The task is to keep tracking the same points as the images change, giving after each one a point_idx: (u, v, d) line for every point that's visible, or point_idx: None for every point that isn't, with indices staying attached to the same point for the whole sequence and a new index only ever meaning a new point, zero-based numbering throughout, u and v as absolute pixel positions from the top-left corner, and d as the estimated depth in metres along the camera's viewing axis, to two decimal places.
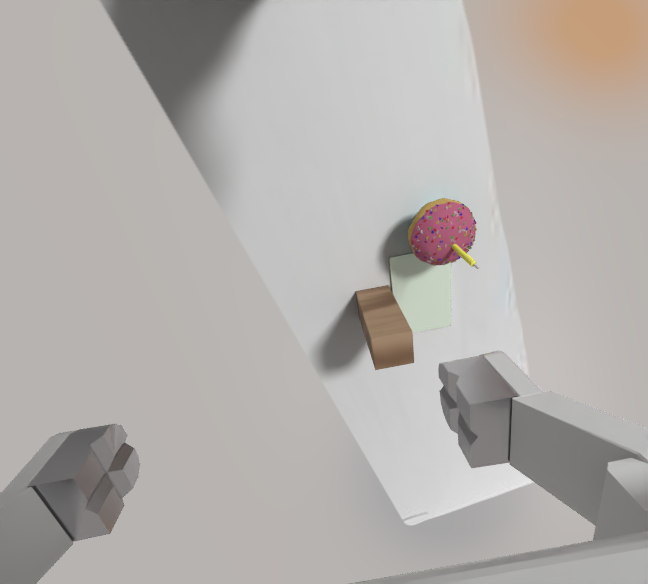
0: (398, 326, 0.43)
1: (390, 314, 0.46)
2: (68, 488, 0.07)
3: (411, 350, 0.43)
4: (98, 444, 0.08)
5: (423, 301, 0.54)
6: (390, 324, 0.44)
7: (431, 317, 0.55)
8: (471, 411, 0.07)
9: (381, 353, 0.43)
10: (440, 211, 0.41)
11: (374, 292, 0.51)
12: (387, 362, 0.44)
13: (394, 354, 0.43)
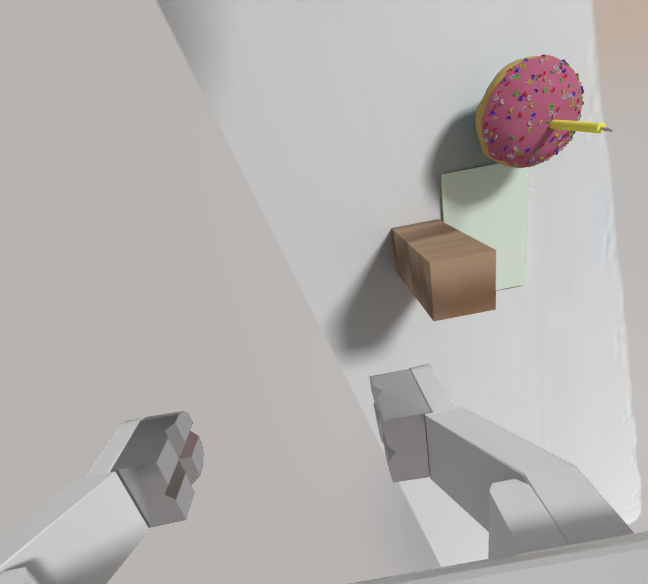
0: (469, 247, 0.27)
1: (452, 239, 0.30)
2: (150, 473, 0.07)
3: (492, 286, 0.27)
4: (171, 430, 0.08)
5: (486, 244, 0.38)
6: (456, 247, 0.28)
7: (497, 271, 0.39)
8: (385, 427, 0.07)
9: (445, 290, 0.27)
10: (532, 66, 0.27)
11: (419, 226, 0.36)
12: (453, 307, 0.27)
13: (465, 293, 0.27)
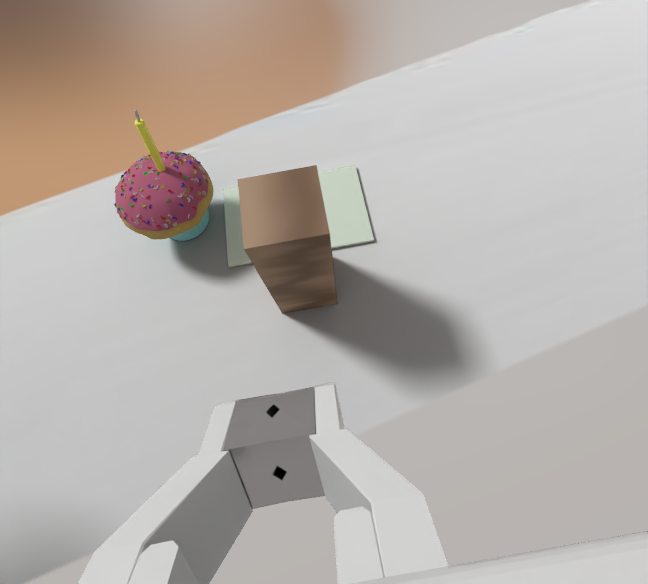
0: None
1: None
2: (261, 452, 0.07)
3: (284, 174, 0.22)
4: (270, 412, 0.08)
5: None
6: None
7: (338, 194, 0.35)
8: (272, 448, 0.07)
9: (284, 225, 0.20)
10: (117, 197, 0.30)
11: None
12: (310, 212, 0.20)
13: (290, 202, 0.21)
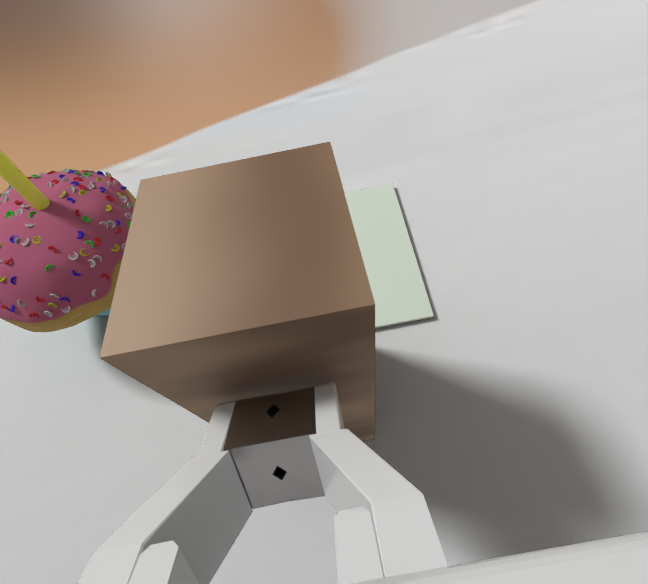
0: None
1: None
2: (261, 452, 0.07)
3: (251, 163, 0.09)
4: (270, 412, 0.08)
5: None
6: None
7: (367, 232, 0.21)
8: (272, 448, 0.07)
9: (236, 283, 0.07)
10: None
11: None
12: (314, 245, 0.07)
13: (261, 221, 0.08)
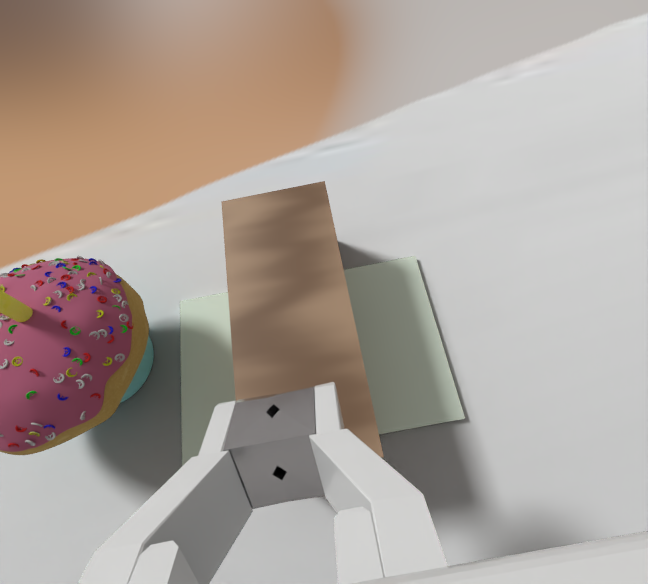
0: None
1: None
2: (261, 452, 0.07)
3: None
4: (270, 412, 0.08)
5: None
6: None
7: (388, 314, 0.19)
8: (272, 448, 0.07)
9: None
10: None
11: None
12: None
13: None
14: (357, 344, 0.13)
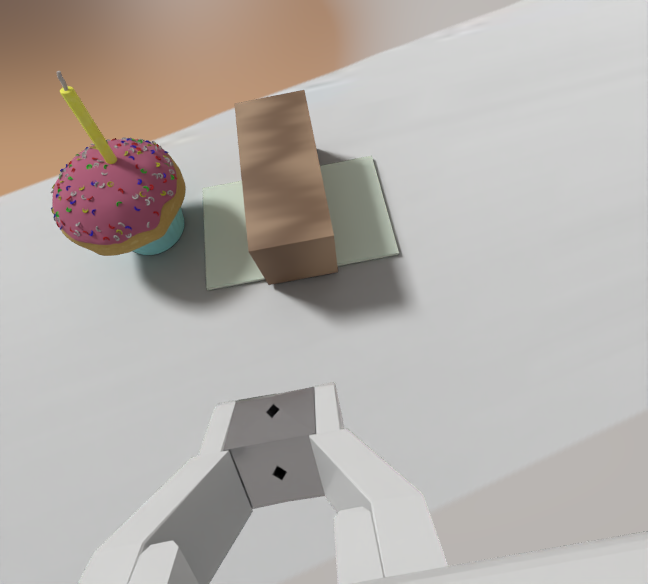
0: None
1: None
2: (261, 452, 0.07)
3: None
4: (270, 412, 0.08)
5: None
6: None
7: (350, 192, 0.27)
8: (272, 448, 0.07)
9: None
10: (53, 200, 0.22)
11: None
12: None
13: None
14: (321, 180, 0.21)
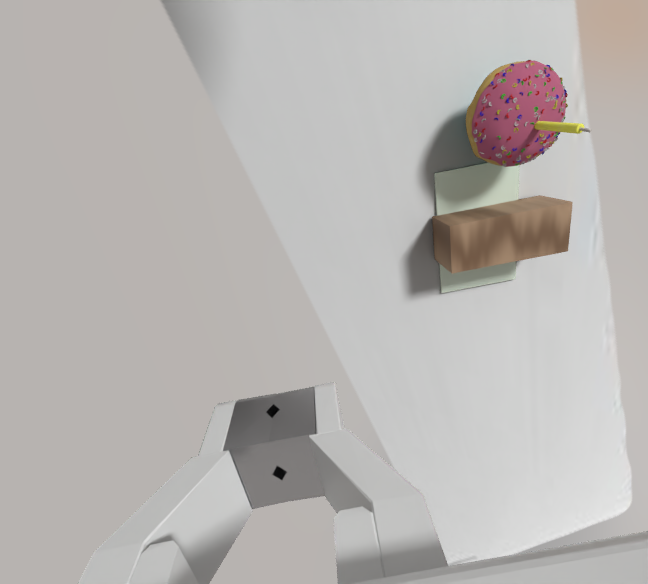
0: (533, 199, 0.37)
1: (508, 205, 0.37)
2: (261, 453, 0.07)
3: None
4: (270, 412, 0.08)
5: None
6: (531, 201, 0.36)
7: None
8: (272, 448, 0.07)
9: None
10: (518, 71, 0.28)
11: (453, 218, 0.36)
12: None
13: None
14: (490, 265, 0.35)
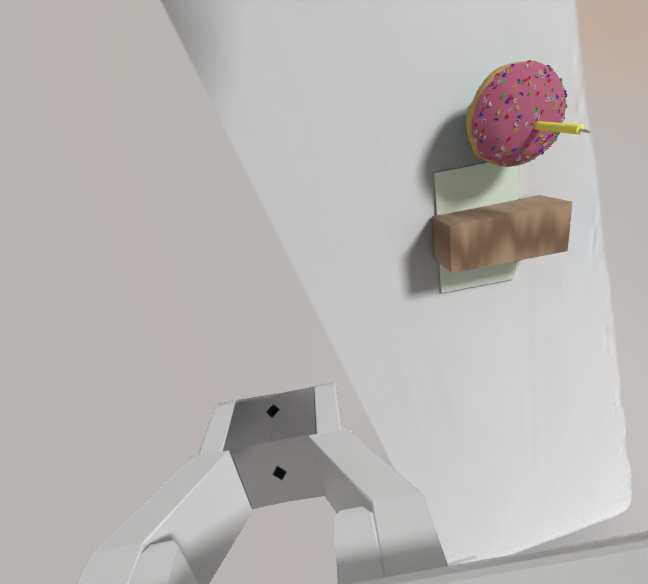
0: (533, 199, 0.37)
1: (508, 205, 0.37)
2: (261, 452, 0.07)
3: None
4: (270, 412, 0.08)
5: None
6: (531, 201, 0.36)
7: None
8: (272, 448, 0.07)
9: None
10: (518, 71, 0.28)
11: (452, 218, 0.36)
12: None
13: None
14: (490, 265, 0.36)
